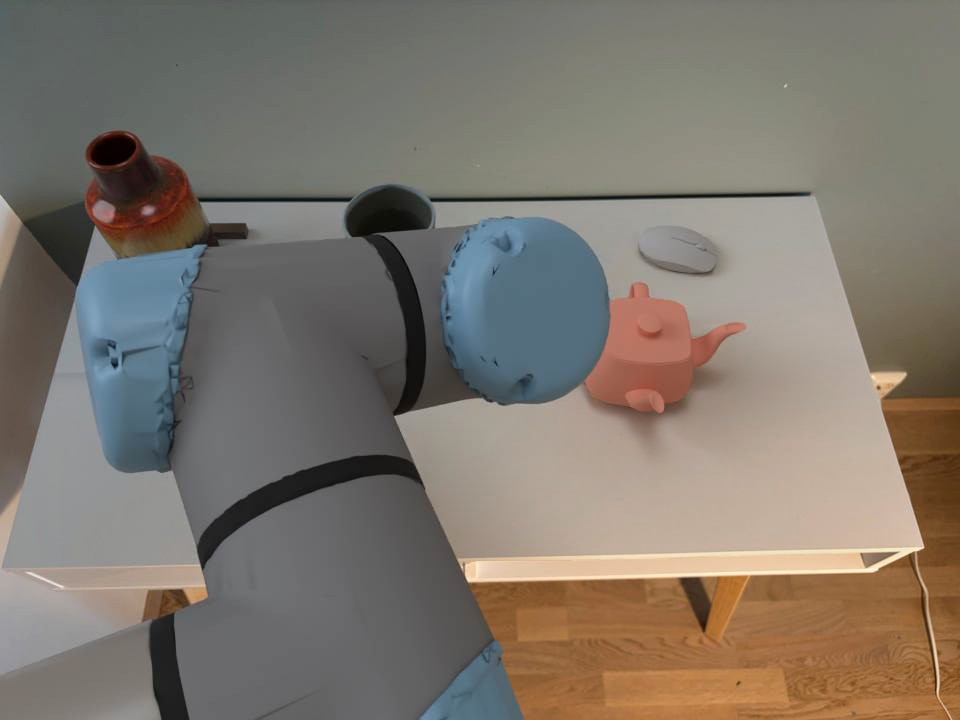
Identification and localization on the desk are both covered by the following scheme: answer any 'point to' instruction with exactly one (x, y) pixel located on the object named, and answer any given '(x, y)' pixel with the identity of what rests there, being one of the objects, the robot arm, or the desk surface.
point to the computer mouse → (678, 249)
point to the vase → (142, 199)
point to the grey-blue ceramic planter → (388, 211)
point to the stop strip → (229, 230)
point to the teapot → (651, 352)
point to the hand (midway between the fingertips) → (273, 308)
